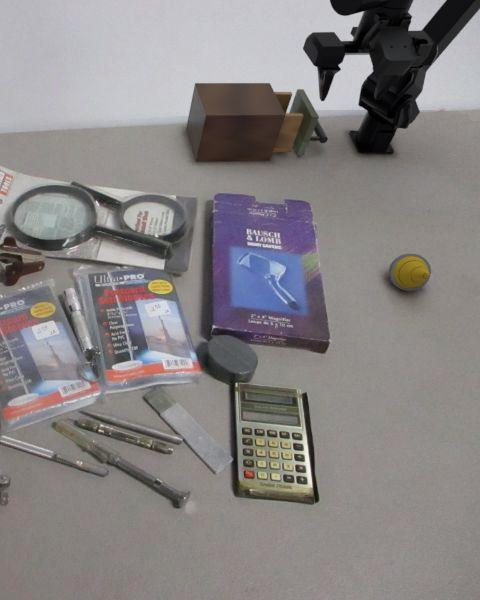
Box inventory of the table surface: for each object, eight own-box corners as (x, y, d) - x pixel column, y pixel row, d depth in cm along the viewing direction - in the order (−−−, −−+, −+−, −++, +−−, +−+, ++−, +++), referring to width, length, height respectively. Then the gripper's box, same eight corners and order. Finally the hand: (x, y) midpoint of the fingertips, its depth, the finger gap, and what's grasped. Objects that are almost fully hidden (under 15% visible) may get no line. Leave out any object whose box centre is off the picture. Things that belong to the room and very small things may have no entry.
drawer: (311, 126, 111) (326, 89, 105) (326, 154, 106) (342, 116, 100) (225, 126, 110) (235, 89, 104) (235, 155, 105) (246, 117, 99)
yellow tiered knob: (425, 280, 89) (457, 285, 79) (390, 294, 90) (416, 300, 80) (412, 247, 88) (441, 248, 79) (376, 261, 89) (401, 264, 80)
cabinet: (256, 128, 112) (269, 82, 104) (269, 161, 105) (285, 114, 98) (185, 129, 111) (194, 82, 104) (195, 162, 104) (205, 115, 97)
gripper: (349, 28, 78) (310, 130, 90) (482, 26, 80) (426, 126, 92) (319, -9, 85) (287, 90, 97) (442, -10, 87) (395, 87, 99)
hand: (348, 99), depth 96 cm, fingers open, 9 cm apart
